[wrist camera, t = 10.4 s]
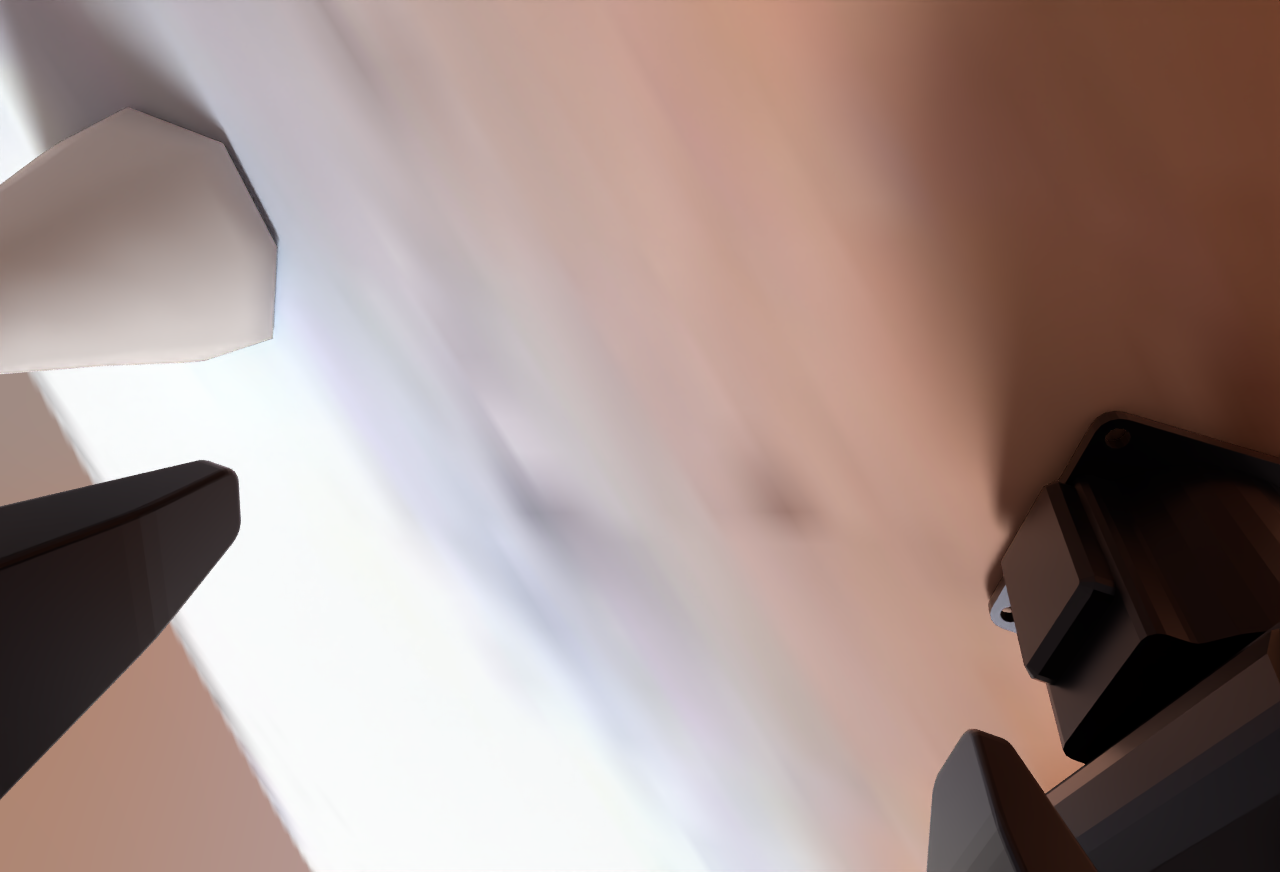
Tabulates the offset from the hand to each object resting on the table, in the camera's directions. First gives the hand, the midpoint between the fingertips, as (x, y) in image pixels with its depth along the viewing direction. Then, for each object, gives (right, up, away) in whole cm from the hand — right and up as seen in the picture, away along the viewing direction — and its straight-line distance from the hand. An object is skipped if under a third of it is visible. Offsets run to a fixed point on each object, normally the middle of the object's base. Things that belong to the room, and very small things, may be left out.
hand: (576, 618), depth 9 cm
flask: (-13, +8, +14) cm, 20 cm away
